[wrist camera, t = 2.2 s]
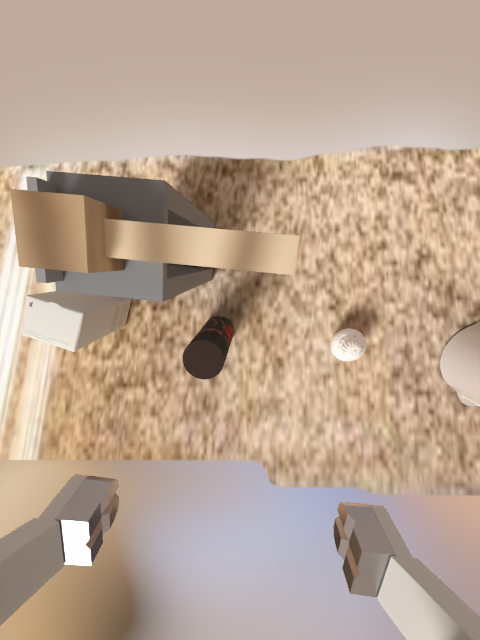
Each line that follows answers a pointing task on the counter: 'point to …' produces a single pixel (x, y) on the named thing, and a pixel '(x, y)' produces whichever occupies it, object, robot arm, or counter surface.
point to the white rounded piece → (348, 344)
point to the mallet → (133, 239)
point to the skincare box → (73, 318)
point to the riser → (138, 205)
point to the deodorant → (209, 349)
